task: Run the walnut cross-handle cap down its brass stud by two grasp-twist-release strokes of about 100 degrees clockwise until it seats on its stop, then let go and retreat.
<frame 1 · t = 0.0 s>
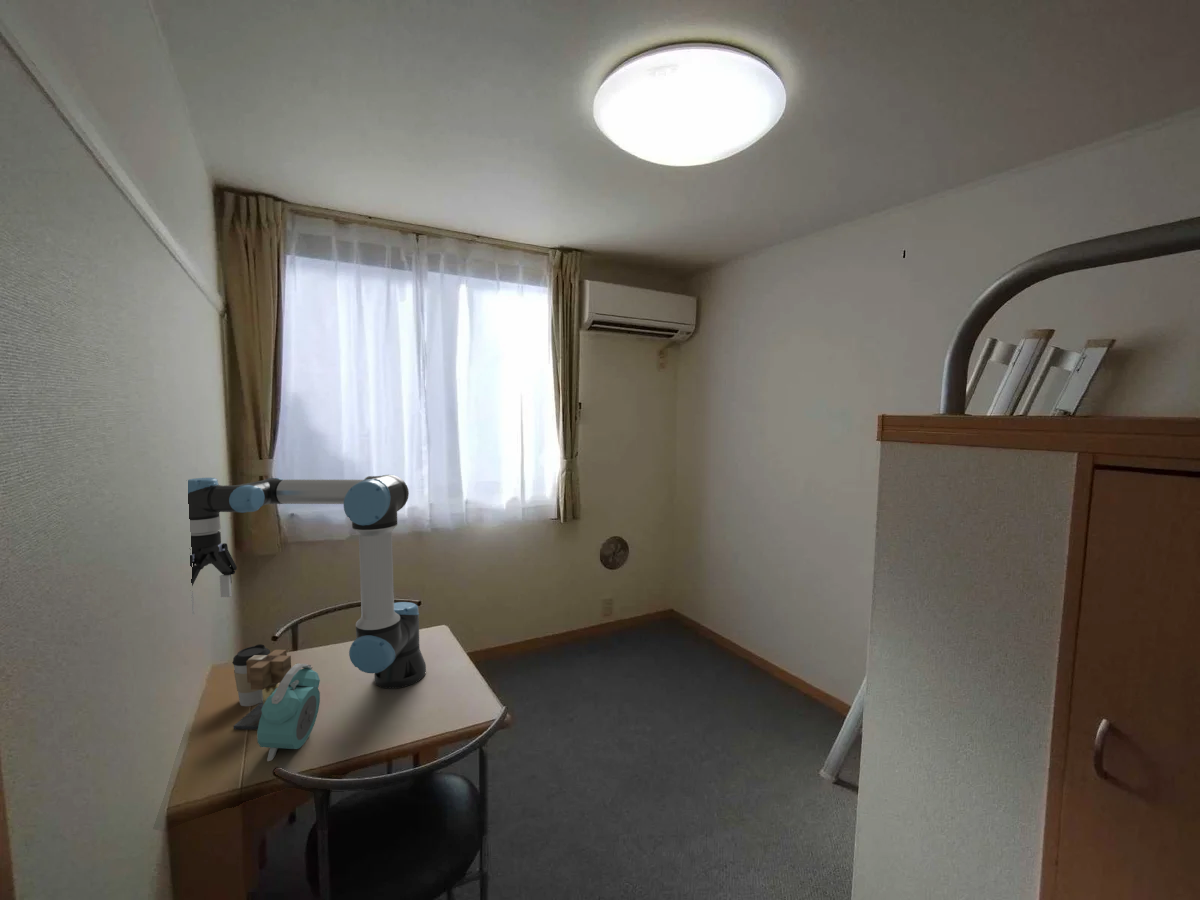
hand: (208, 605, 142), 28 cm above the table, fingers open, 13 cm apart
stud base: (271, 715, 136), on the table
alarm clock: (291, 745, 124), on the table
cross cap: (269, 670, 135), point 13 cm above the table, hinge at 0.0°
coffee cup: (254, 700, 144), on the table
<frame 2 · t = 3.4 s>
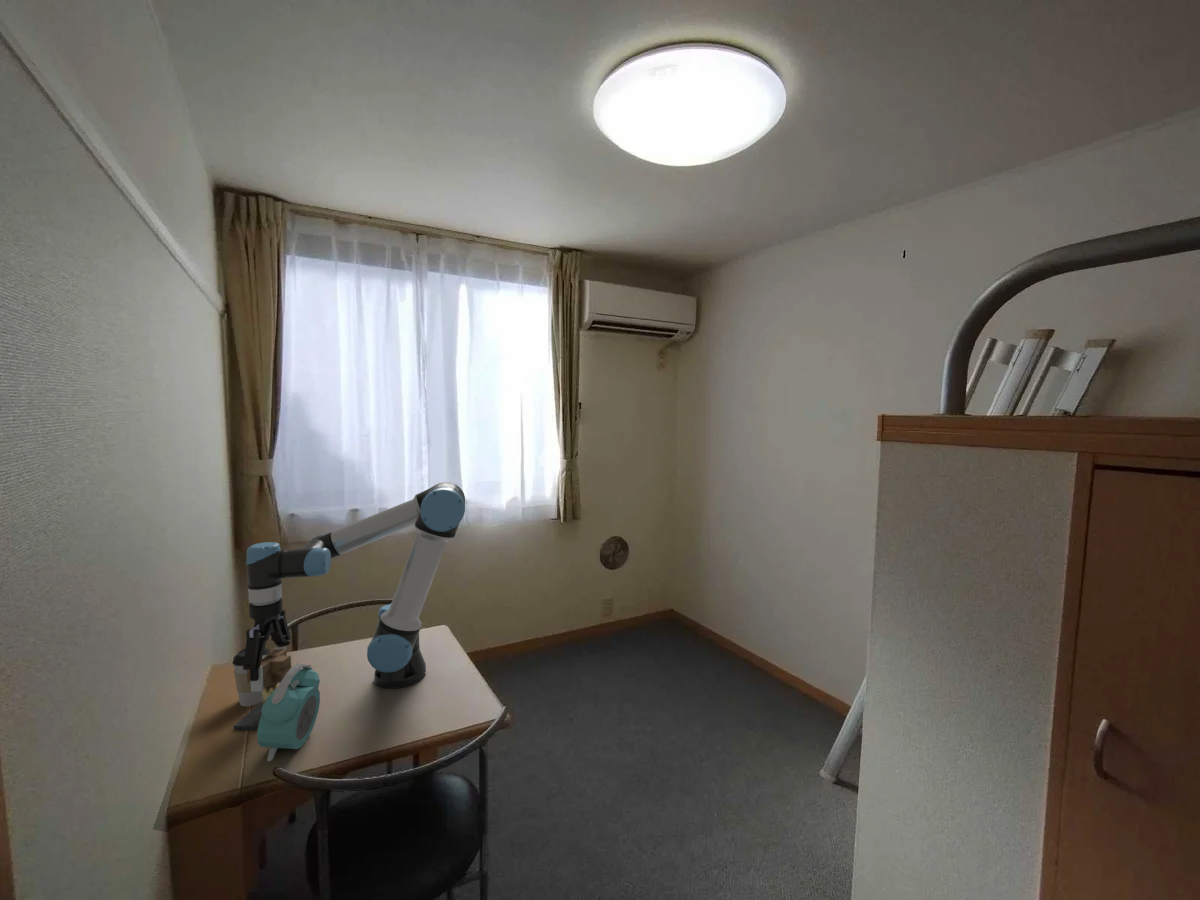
hand: (269, 679, 135), 10 cm above the table, fingers closed on cross cap, 10 cm apart
cross cap: (269, 670, 135), point 13 cm above the table, hinge at 0.2°, touching gripper
everything else where it was.
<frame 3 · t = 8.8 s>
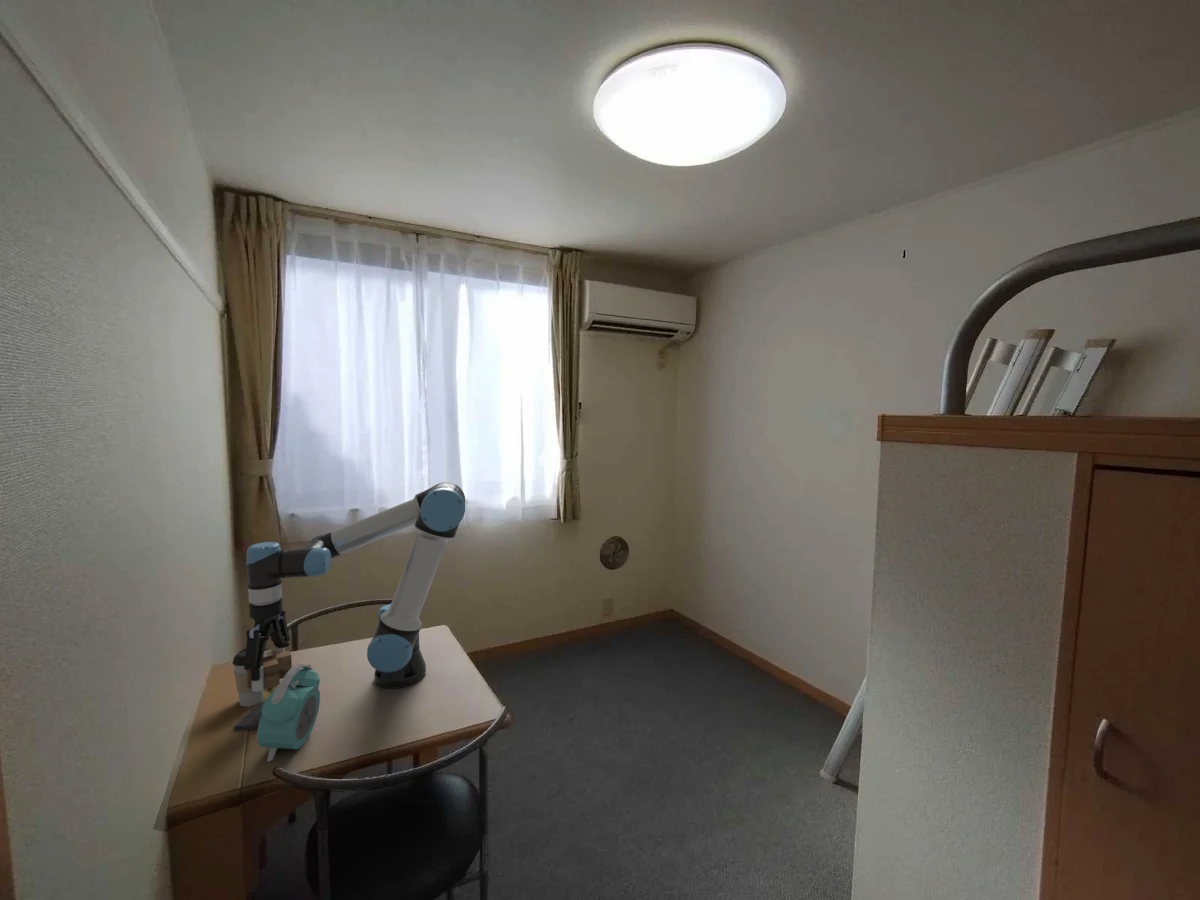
hand: (269, 680, 135), 10 cm above the table, fingers closed on cross cap, 9 cm apart
cross cap: (269, 670, 135), point 13 cm above the table, hinge at 48.3°, touching gripper
everything else where it was.
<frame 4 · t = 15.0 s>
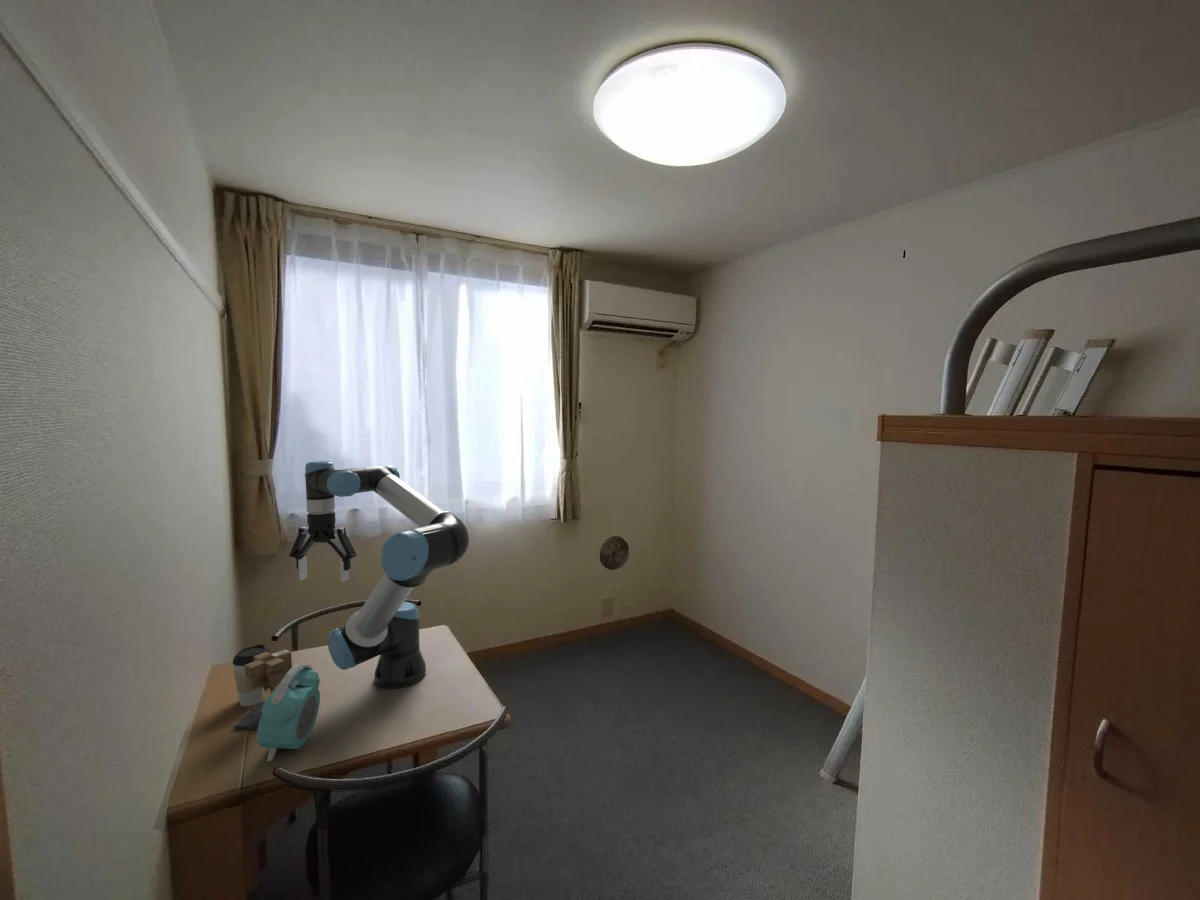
hand: (324, 579, 153), 32 cm above the table, fingers open, 13 cm apart
cross cap: (269, 670, 135), point 13 cm above the table, hinge at 121.5°
everything else where it was.
at the end: cross cap at +122° (first picture: +0°); the gripper is holding nothing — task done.
